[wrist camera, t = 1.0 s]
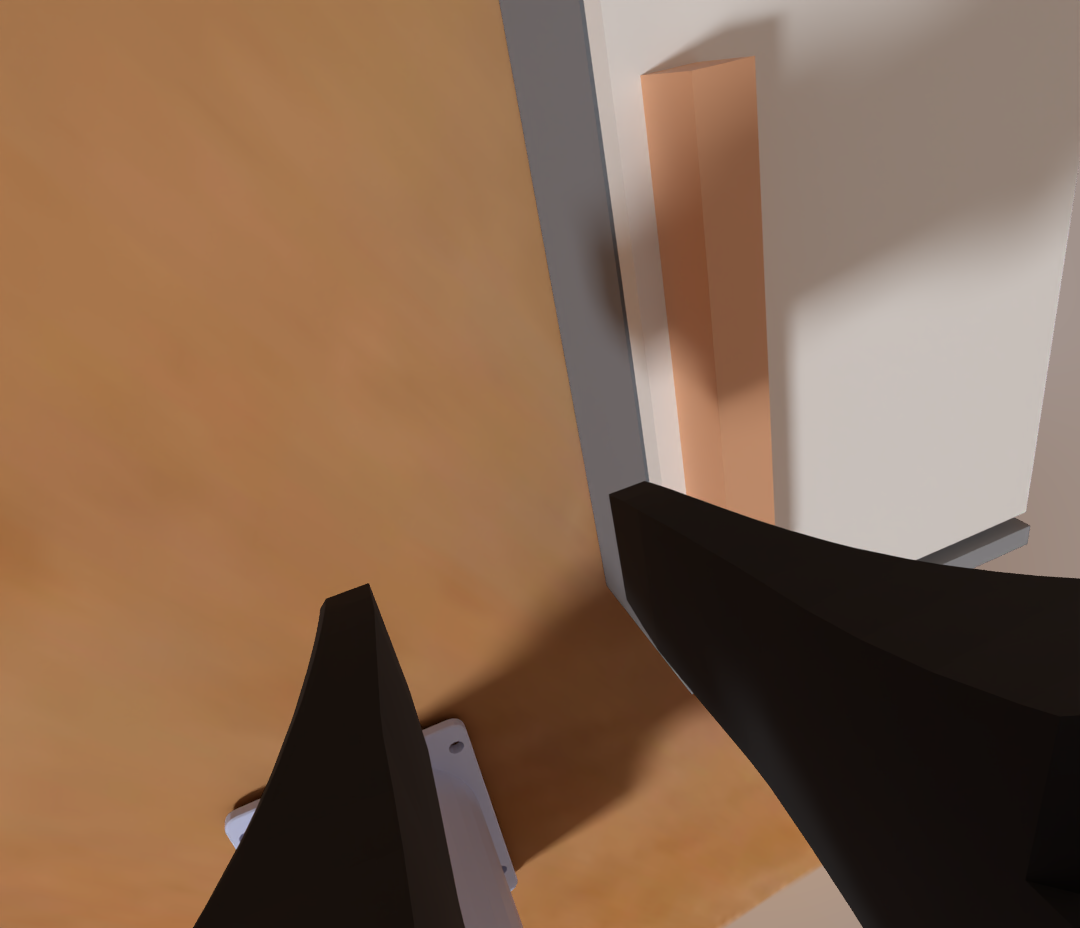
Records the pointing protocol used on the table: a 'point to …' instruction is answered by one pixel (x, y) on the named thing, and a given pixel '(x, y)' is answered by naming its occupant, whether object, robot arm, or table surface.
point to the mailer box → (607, 269)
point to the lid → (842, 251)
